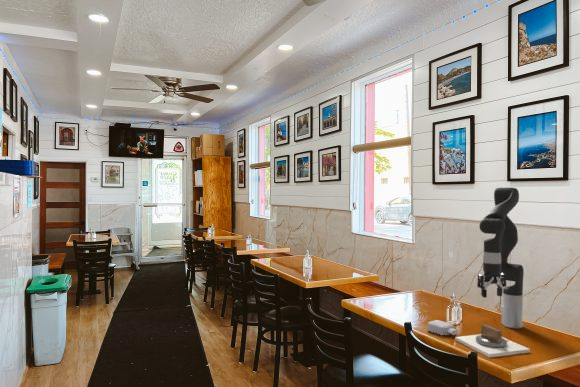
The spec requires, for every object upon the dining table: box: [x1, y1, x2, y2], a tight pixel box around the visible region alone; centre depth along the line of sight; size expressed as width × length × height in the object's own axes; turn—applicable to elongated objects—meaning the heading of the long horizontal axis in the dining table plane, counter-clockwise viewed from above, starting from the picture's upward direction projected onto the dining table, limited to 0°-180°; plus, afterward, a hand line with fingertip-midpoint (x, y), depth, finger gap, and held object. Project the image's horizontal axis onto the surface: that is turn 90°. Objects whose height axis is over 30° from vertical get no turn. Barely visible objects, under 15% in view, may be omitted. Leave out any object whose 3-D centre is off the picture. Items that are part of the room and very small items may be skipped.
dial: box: [476, 323, 507, 348], centre depth 192 cm, size 13×13×7 cm
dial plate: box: [454, 333, 531, 359], centre depth 192 cm, size 22×22×2 cm
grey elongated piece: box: [426, 319, 461, 336], centre depth 209 cm, size 5×9×15 cm
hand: (491, 296), depth 192 cm, fingers open, 8 cm apart
